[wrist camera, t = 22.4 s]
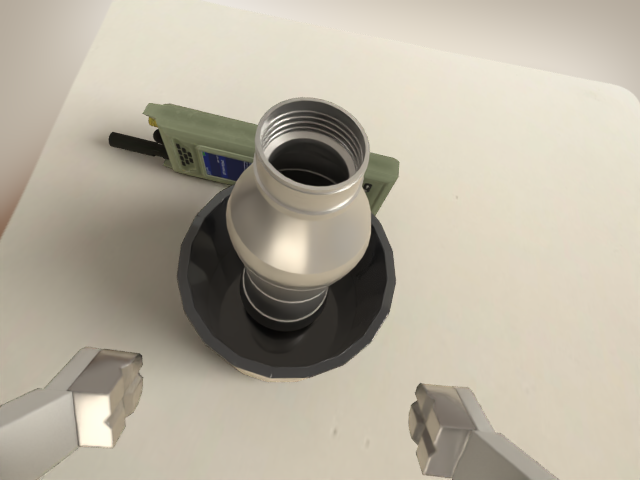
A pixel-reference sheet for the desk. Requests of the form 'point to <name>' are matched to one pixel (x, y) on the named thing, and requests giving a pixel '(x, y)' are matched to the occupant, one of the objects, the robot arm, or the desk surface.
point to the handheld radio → (227, 148)
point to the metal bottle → (300, 211)
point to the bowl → (267, 344)
